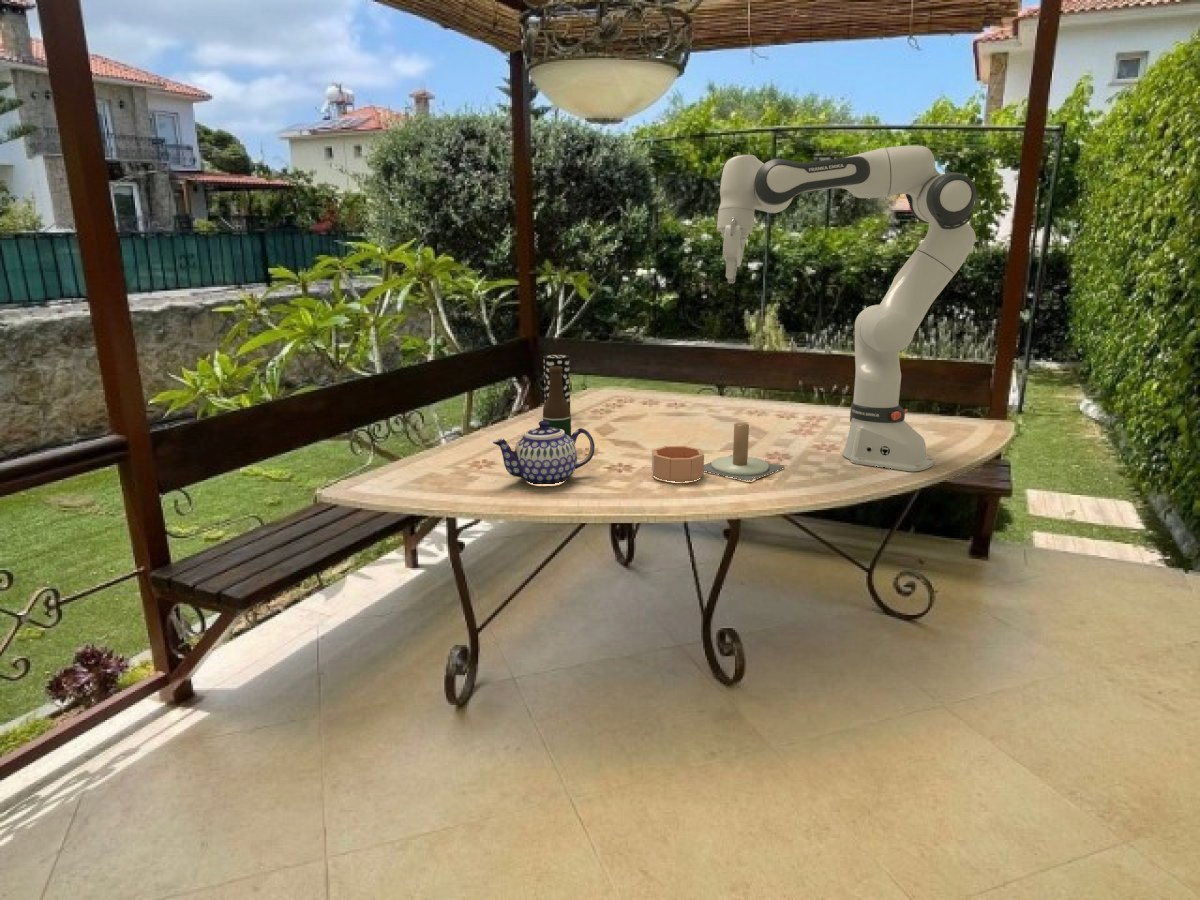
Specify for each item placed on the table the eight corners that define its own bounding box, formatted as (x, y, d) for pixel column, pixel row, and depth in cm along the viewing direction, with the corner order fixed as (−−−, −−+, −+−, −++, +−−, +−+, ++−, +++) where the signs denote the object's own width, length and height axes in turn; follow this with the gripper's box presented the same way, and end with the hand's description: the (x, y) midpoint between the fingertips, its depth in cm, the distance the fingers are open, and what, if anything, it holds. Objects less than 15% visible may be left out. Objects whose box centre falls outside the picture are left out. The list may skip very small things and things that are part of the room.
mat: (784, 468, 186) (784, 466, 186) (749, 483, 175) (749, 481, 175) (730, 457, 197) (731, 455, 197) (694, 470, 186) (694, 468, 186)
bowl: (712, 475, 181) (712, 451, 180) (681, 487, 173) (682, 462, 171) (673, 466, 189) (673, 443, 188) (642, 476, 181) (642, 452, 179)
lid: (779, 466, 186) (781, 424, 183) (748, 479, 176) (750, 434, 174) (732, 456, 196) (733, 415, 193) (700, 468, 186) (701, 425, 183)
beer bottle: (575, 452, 202) (574, 365, 196) (566, 460, 195) (565, 369, 188) (548, 451, 204) (546, 364, 198) (538, 458, 197) (536, 368, 191)
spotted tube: (542, 415, 247) (540, 355, 242) (566, 413, 249) (565, 354, 244) (548, 420, 239) (546, 358, 234) (573, 418, 242) (572, 357, 237)
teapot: (585, 467, 189) (585, 410, 185) (605, 484, 175) (605, 423, 172) (487, 477, 181) (485, 417, 177) (500, 495, 168) (498, 431, 164)
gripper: (747, 215, 174) (741, 276, 175) (749, 231, 194) (744, 285, 195) (719, 214, 175) (714, 274, 177) (724, 230, 195) (720, 284, 197)
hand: (730, 280), depth 186 cm, fingers open, 8 cm apart
